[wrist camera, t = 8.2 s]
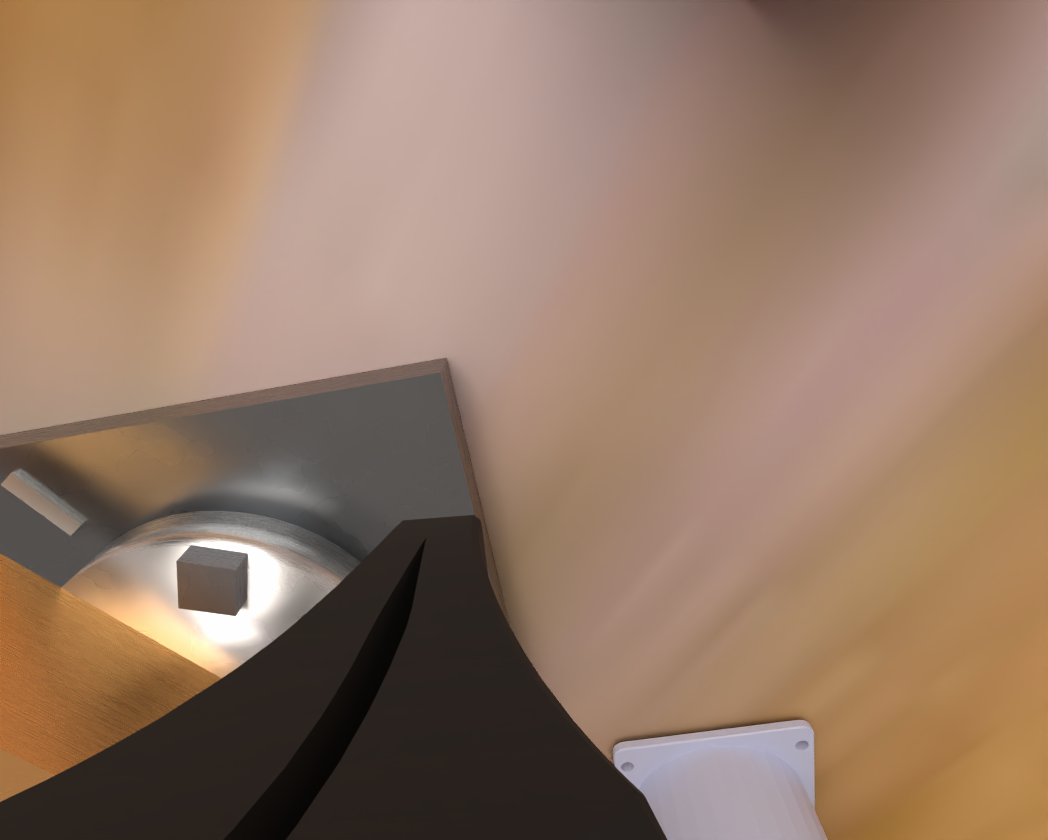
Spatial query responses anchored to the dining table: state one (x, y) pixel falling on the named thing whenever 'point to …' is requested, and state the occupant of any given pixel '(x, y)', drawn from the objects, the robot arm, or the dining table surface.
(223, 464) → the base plate
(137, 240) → the dining table surface
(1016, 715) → the dining table surface
